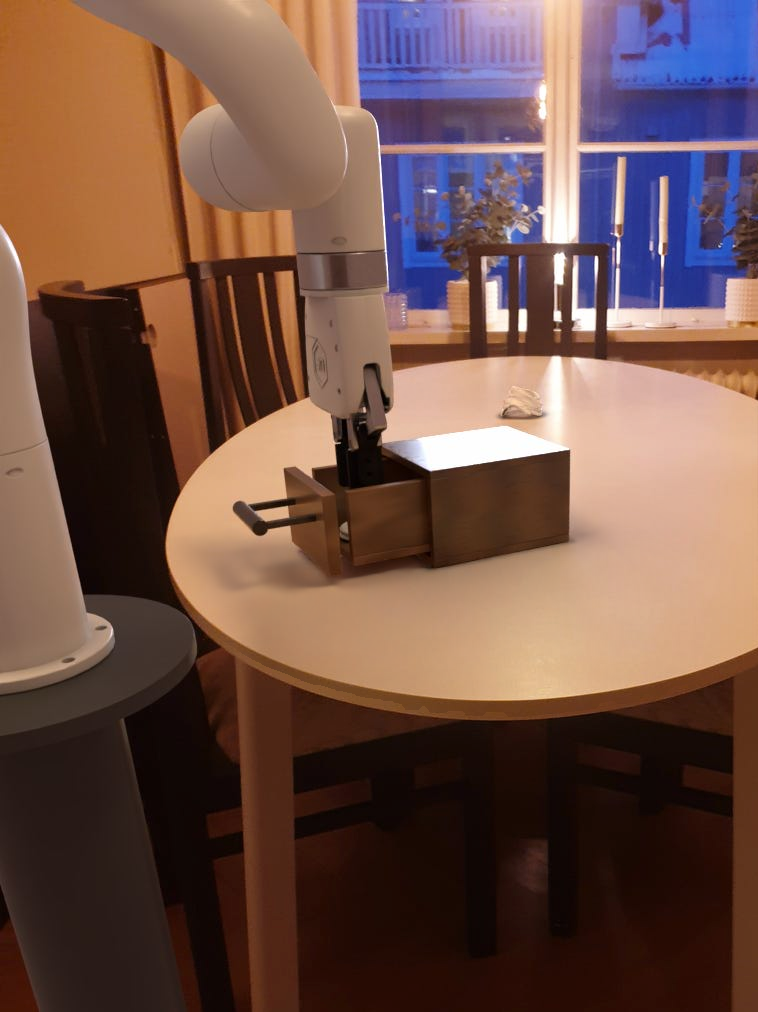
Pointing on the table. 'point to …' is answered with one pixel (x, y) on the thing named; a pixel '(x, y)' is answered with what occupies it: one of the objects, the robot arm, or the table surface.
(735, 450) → the table surface
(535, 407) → the beige lumpy piece
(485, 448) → the cabinet
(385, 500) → the drawer
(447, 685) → the table surface
